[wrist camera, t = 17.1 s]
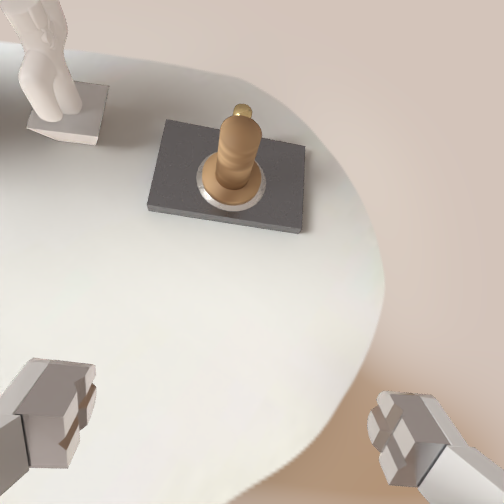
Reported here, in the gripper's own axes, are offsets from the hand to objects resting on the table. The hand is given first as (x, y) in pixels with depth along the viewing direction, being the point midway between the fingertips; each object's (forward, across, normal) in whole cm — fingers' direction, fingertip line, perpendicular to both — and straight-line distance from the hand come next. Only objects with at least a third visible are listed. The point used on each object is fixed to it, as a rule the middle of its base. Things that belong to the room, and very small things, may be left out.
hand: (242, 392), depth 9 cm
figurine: (+37, +19, -1) cm, 41 cm away
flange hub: (+32, 0, +1) cm, 32 cm away
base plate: (+34, 0, +2) cm, 34 cm away
